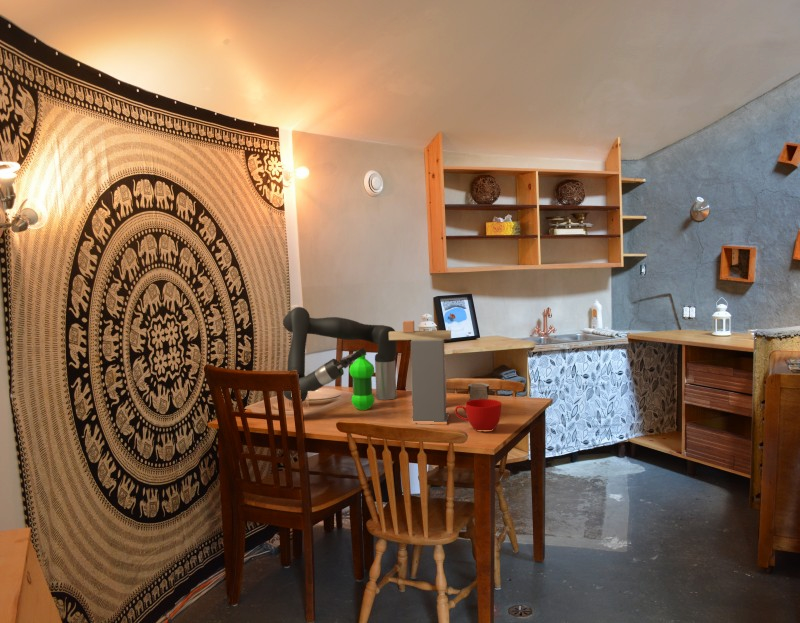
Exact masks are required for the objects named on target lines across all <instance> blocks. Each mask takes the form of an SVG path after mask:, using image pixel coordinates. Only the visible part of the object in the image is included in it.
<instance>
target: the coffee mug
mask: <svg viewBox="0 0 800 623" xmlns="http://www.w3.org/2000/svg"><path fill="white" fill-rule="evenodd" d="M474 384H482V385H485V386H486V388H487V395H488V396H489V393H490V392H489V391H490V384H488V383H483V382H473V383H469V384H468V385H467V386H468V388H467V391H468V393H469V395H470V389H471V386H472V385H474Z"/></svg>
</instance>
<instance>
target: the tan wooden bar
mask: <svg viewBox="0 0 800 623" xmlns="http://www.w3.org/2000/svg"><path fill="white" fill-rule="evenodd" d="M430 339H444V340H451V339H452V330H449V329H448V330H443V329H442V330H415V331H414V332H403V330H395V331H390V332H389V340H397V341H410V340H430Z"/></svg>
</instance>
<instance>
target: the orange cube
mask: <svg viewBox="0 0 800 623" xmlns="http://www.w3.org/2000/svg"><path fill="white" fill-rule="evenodd" d="M402 331H403V332H414V331H416V329H415V320H403V321H402Z"/></svg>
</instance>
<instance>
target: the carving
mask: <svg viewBox="0 0 800 623" xmlns="http://www.w3.org/2000/svg"><path fill="white" fill-rule="evenodd" d="M476 399H489V394H488V395H487V388H486V386H485V385H482V384H474V385H472V386H471V389H470V394H469V400H468V401H470V400H476Z"/></svg>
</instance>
